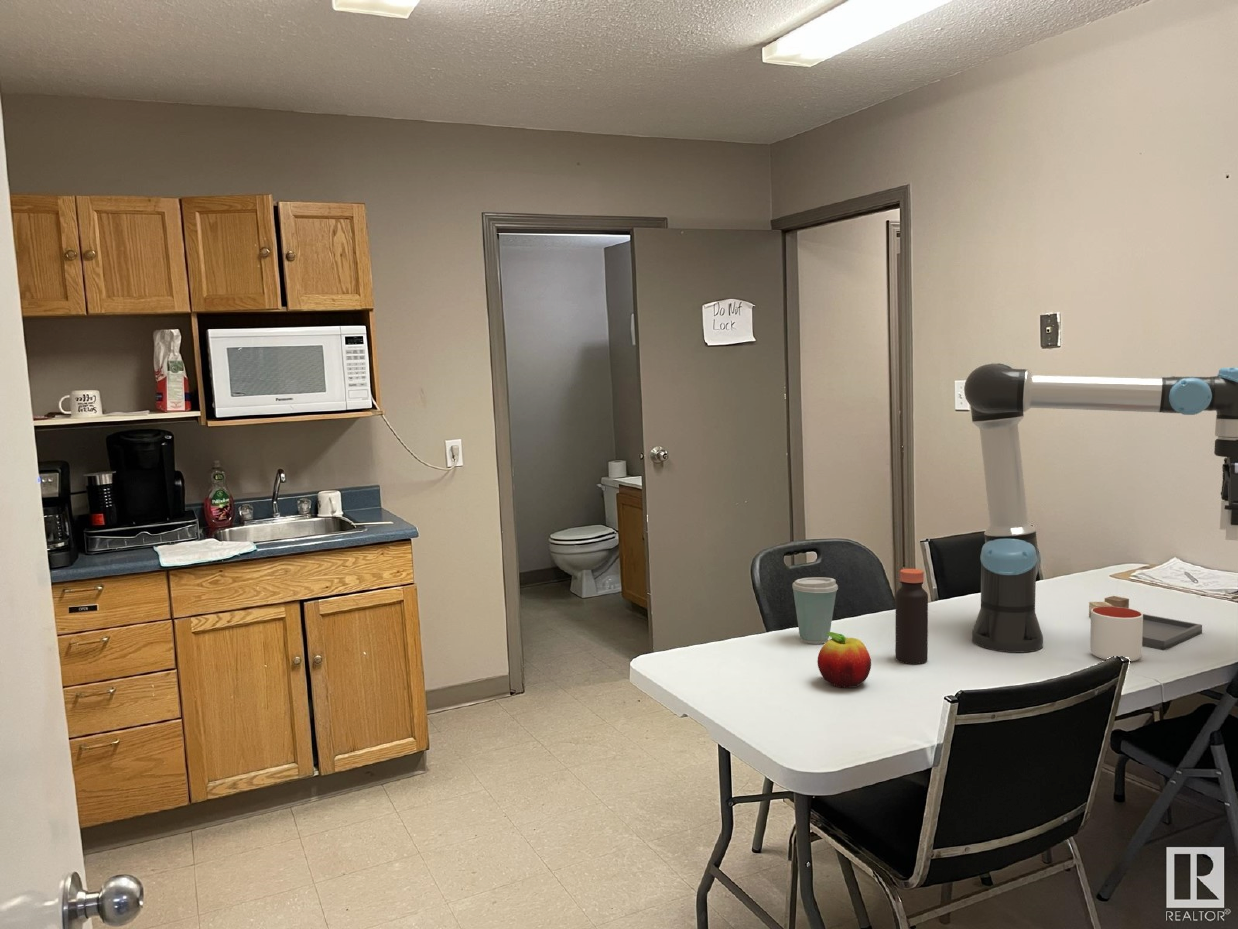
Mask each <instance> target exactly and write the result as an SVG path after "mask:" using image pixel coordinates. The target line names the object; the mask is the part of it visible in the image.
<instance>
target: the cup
mask: <svg viewBox="0 0 1238 929" xmlns="http://www.w3.org/2000/svg"><path fill="white" fill-rule="evenodd" d="M1143 614H1144V613H1142V612H1141V611H1139V610H1136V609H1132V608H1130V607H1129V608H1123V607H1111V606H1104V607H1096V608H1093V609H1092V610H1091V618H1090V632H1089V633H1090V638H1089V639H1090V640H1089V650H1090V652H1091V653H1092V655H1094V656H1095V657H1097V658H1098V659H1101V660H1105V659H1107V658H1109V657H1113V656H1123V657H1129V659H1130V660H1131V662H1135V661H1138V660H1140V658H1141V657H1142V654H1143V646H1142V633H1143ZM1105 661H1106V660H1105Z"/></svg>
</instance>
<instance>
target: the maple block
mask: <svg viewBox="0 0 1238 929" xmlns="http://www.w3.org/2000/svg"><path fill="white" fill-rule="evenodd" d="M1088 604H1089V605H1088V606H1089V607H1088V617H1089V619H1091V610H1092V609H1093V608H1096V607H1104V606H1111V607H1113V606H1112V605H1111V604H1109V603H1107V602H1105V601H1089V602H1088Z"/></svg>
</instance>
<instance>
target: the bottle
mask: <svg viewBox="0 0 1238 929" xmlns="http://www.w3.org/2000/svg"><path fill="white" fill-rule="evenodd" d="M924 573H925V572H924V570H922V569H919V568H902V569H900V570H899V580H900V581H899V582H900V584H901V586H900V587H899V588H898V589H897V591H896V592H895V624H894V625H895V628H894V629H895V632H894V633H895V638H894V639H895V641H894V642H895V647H894V648H895V650H894V652H895V660H896V661H898V662H900V663H902V664H908V665H922V664H924V663H926V662H927V661H928V658H929V656H928V653H929V652H928V647H929V644H928V641H929V640H928V639H929V637H928V636H929V635H928V634H929V632H928V630H929V629H928V628H929V627H928V626H929V625H928V624H929V620H928V619H929V615H928V614H929V594H928V592H927V591H926V589H924V588H923V584H924V576H925V575H924Z"/></svg>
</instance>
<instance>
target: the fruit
mask: <svg viewBox="0 0 1238 929" xmlns="http://www.w3.org/2000/svg"><path fill="white" fill-rule="evenodd" d="M827 635H828V636H829V638H831V639H828V641H827V642H826V643H823V645H822V646H821V648H820V650H819V653H818V656H817V661H816V662H817V668H818V670H819V673H820V675H821V676H822V678H823V679H824V681H826V682H827V683H828V684H829V685H831V686H833V687H836V688H837V687H838V688H846V689H847V688H855V687H858V686H860V685H861V684H862V683H864V682H865V681H866V680H867V678H868V676H869V675H870V672H871V669H872V659H871V655H870V653H869V651H868V648H867V647H866V645H865V643H864V642H862V641H861V640H860V639H858V638H856V637H845V635H844V634H842V633H838V632H834V631H830V632H828V633H827Z"/></svg>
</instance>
